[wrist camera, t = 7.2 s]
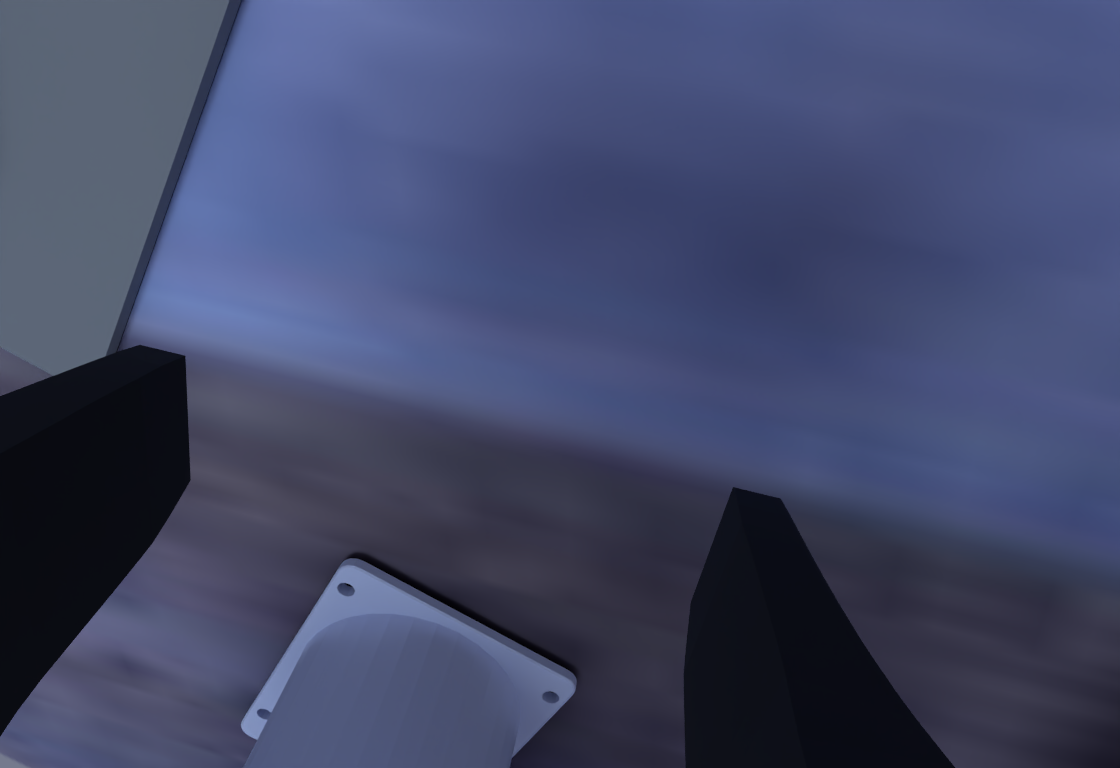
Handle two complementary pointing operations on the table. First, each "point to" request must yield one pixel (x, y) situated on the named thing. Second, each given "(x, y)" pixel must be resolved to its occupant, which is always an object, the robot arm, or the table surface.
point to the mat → (92, 159)
